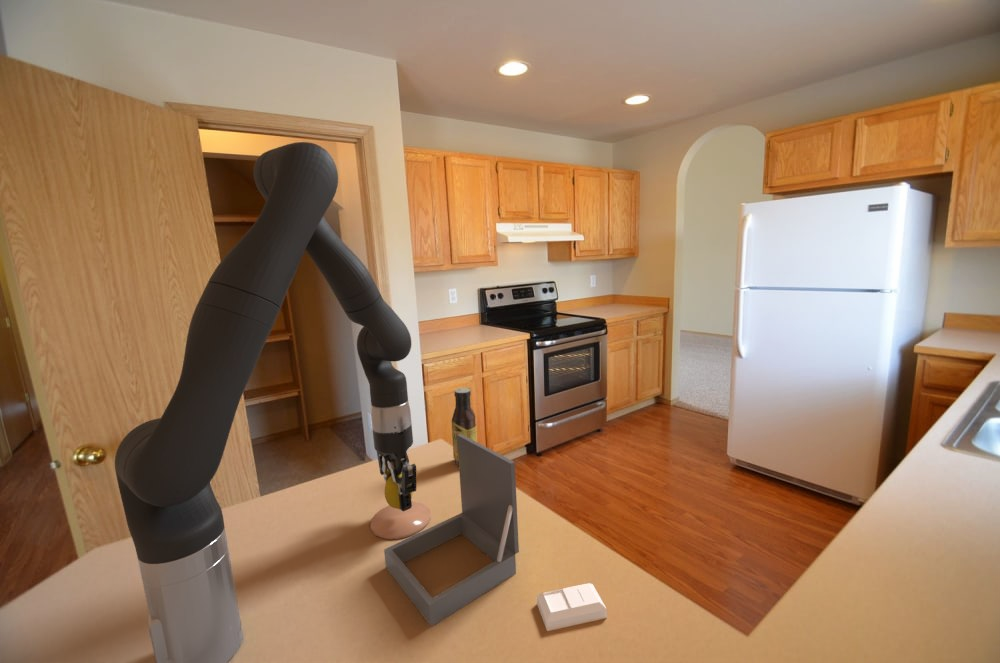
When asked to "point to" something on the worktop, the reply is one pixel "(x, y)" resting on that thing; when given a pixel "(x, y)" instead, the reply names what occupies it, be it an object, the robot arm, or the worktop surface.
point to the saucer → (400, 521)
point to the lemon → (392, 493)
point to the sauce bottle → (462, 419)
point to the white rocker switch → (570, 606)
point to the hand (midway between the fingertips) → (399, 502)
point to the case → (467, 532)
